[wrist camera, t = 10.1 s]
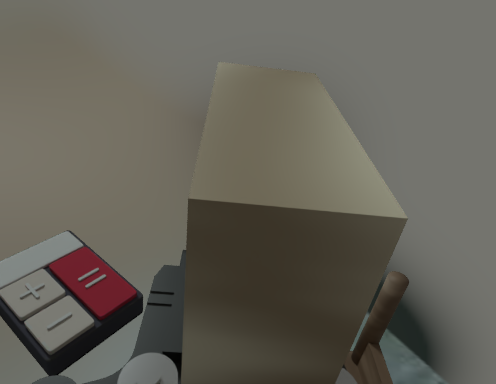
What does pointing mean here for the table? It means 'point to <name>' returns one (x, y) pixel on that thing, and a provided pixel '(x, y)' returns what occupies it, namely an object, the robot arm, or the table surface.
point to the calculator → (64, 300)
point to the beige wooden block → (280, 233)
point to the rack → (376, 334)
